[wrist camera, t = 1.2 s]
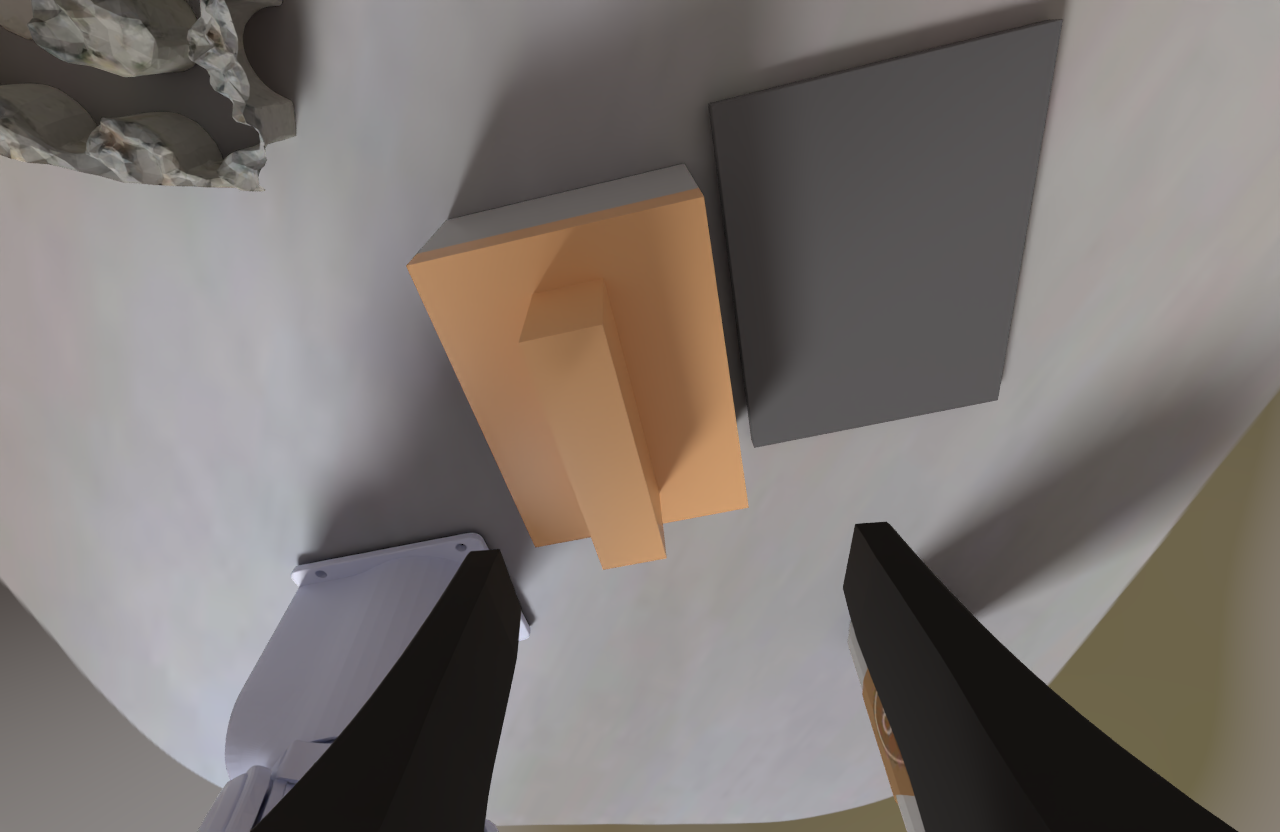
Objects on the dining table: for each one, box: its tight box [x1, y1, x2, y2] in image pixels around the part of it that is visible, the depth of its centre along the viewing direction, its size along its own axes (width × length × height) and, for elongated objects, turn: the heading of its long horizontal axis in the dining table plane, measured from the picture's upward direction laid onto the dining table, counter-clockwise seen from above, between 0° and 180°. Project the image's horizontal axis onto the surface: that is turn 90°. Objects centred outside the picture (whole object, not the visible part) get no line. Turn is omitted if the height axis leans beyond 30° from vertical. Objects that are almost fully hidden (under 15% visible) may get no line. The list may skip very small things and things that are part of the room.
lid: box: [406, 188, 749, 570], centre depth 17 cm, size 8×11×5 cm
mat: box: [709, 19, 1063, 448], centre depth 20 cm, size 10×13×1 cm
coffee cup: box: [848, 621, 925, 832], centre depth 26 cm, size 8×8×15 cm
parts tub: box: [417, 164, 699, 254], centre depth 20 cm, size 8×11×4 cm
